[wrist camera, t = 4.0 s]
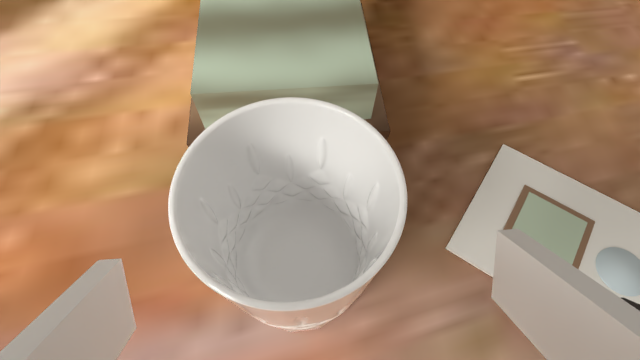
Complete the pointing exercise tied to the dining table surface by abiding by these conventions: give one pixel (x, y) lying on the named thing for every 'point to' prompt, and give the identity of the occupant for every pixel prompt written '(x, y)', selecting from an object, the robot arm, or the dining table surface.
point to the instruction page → (552, 222)
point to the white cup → (288, 209)
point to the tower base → (283, 58)
